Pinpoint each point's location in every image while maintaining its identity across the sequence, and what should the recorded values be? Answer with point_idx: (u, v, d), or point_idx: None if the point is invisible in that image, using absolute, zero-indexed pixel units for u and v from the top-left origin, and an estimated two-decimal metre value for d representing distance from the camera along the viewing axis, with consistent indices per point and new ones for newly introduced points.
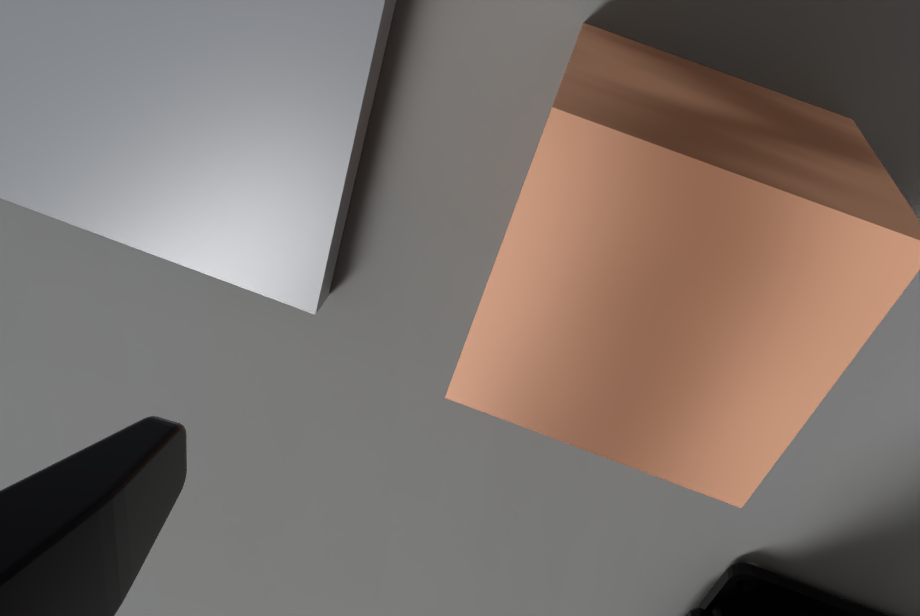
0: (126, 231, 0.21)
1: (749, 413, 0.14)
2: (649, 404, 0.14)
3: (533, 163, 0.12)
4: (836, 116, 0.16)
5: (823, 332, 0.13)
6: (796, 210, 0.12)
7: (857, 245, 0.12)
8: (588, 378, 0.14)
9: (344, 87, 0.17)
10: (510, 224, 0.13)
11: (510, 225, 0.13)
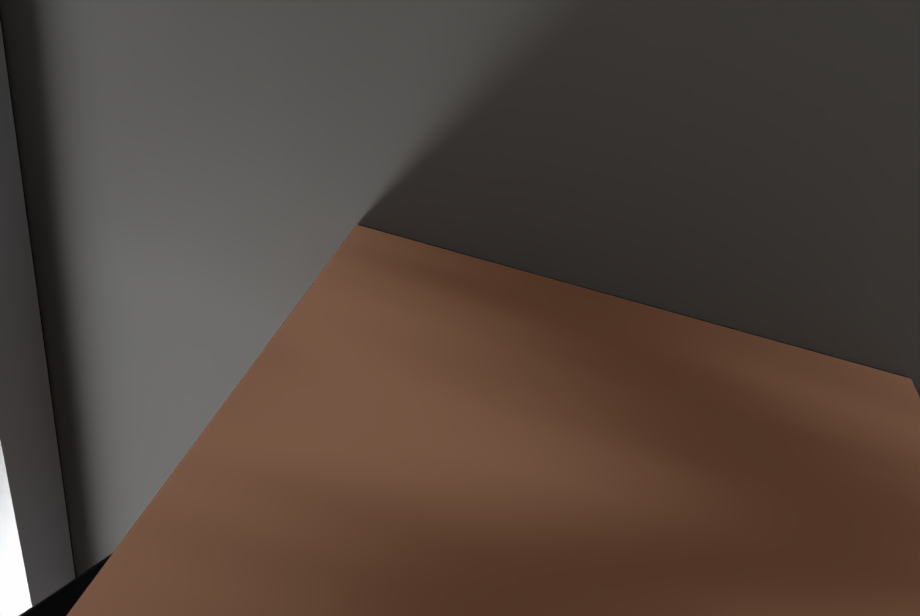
0: None
1: None
2: None
3: None
4: (879, 386, 0.08)
5: None
6: None
7: None
8: None
9: None
10: None
11: None
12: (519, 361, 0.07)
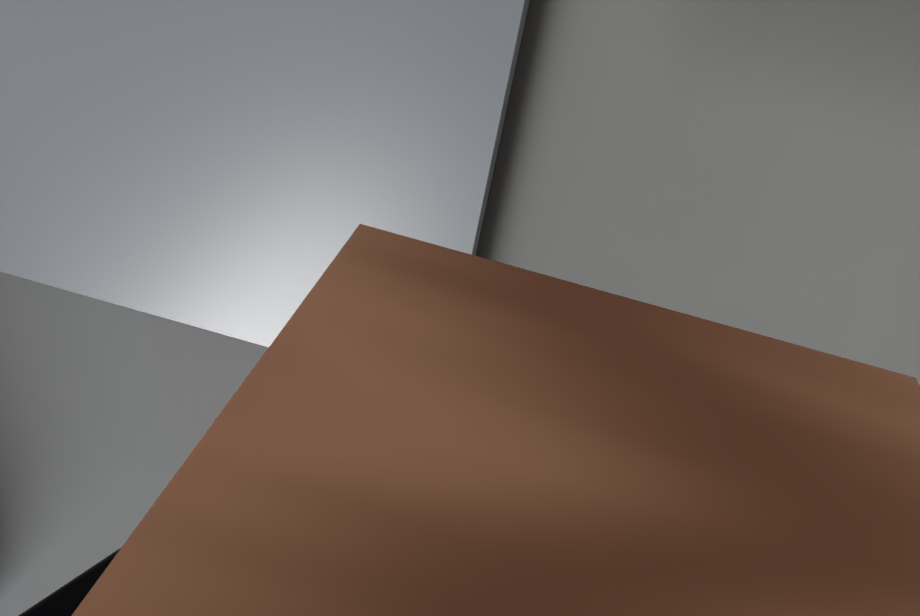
0: (258, 332, 0.22)
1: None
2: None
3: None
4: (883, 386, 0.08)
5: None
6: None
7: None
8: None
9: (465, 186, 0.18)
10: None
11: None
12: (523, 360, 0.07)
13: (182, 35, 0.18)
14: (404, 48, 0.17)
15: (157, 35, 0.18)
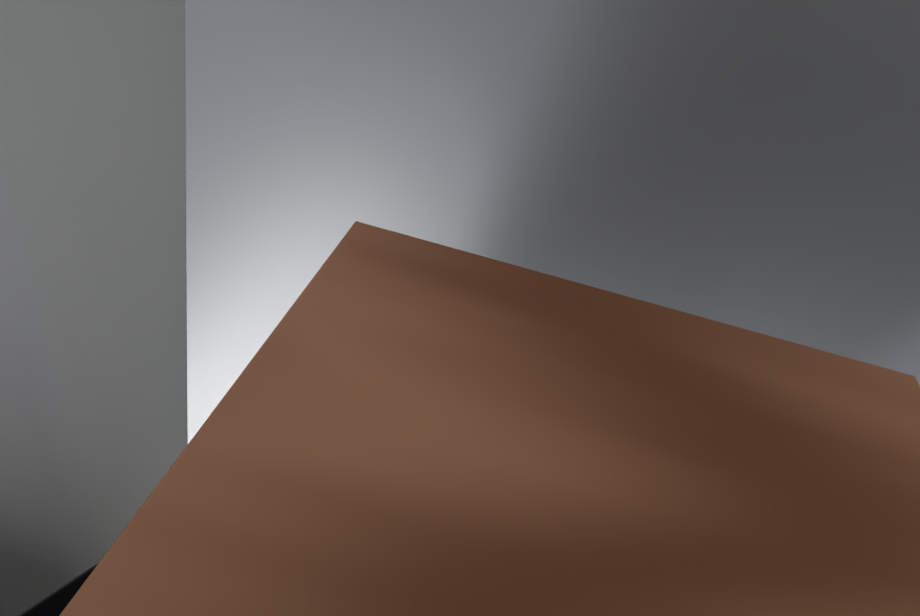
0: None
1: None
2: None
3: None
4: (882, 384, 0.08)
5: None
6: None
7: None
8: None
9: None
10: None
11: None
12: (520, 358, 0.07)
13: (562, 259, 0.13)
14: (910, 300, 0.12)
15: (523, 256, 0.13)
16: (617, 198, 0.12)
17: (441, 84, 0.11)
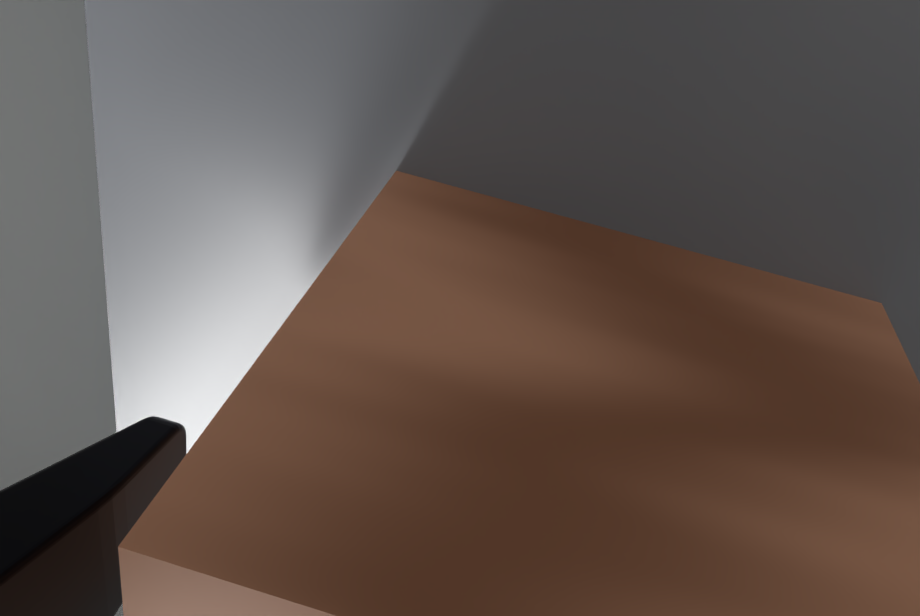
0: None
1: None
2: None
3: None
4: (853, 308, 0.09)
5: None
6: None
7: None
8: None
9: None
10: None
11: None
12: (543, 278, 0.08)
13: None
14: None
15: None
16: None
17: (398, 146, 0.09)
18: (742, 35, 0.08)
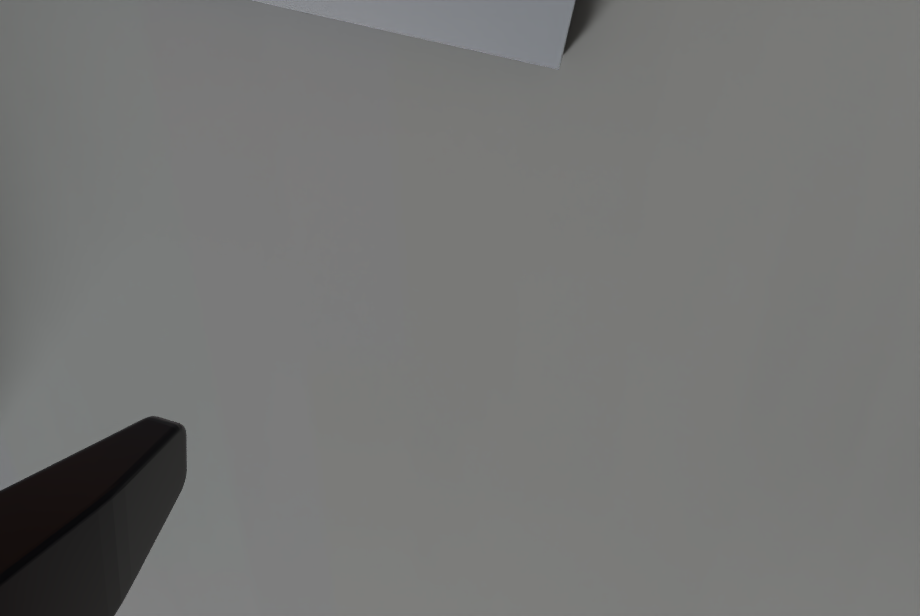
0: None
1: None
2: None
3: None
4: None
5: None
6: None
7: None
8: None
9: None
10: None
11: None
12: None
13: None
14: None
15: None
16: None
17: None
18: None
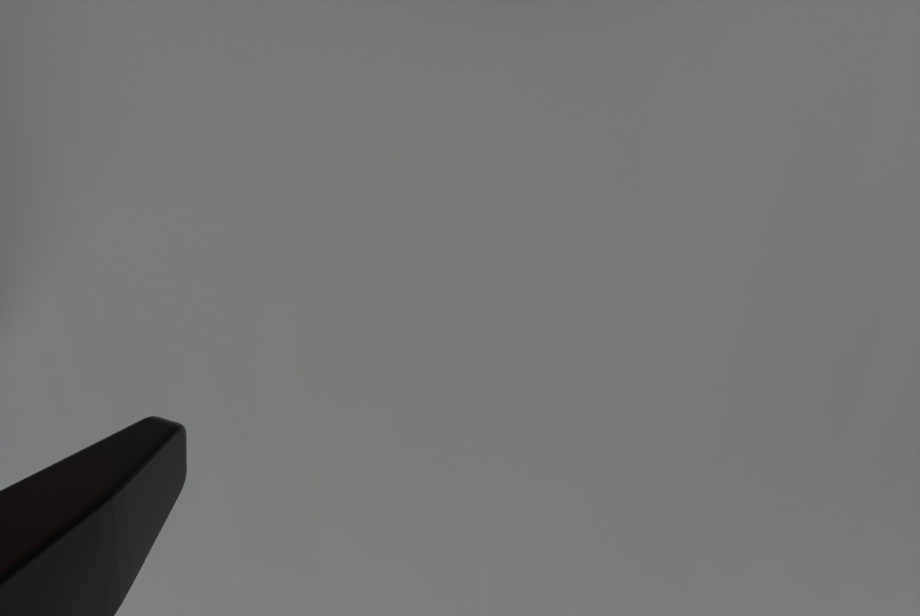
0: None
1: None
2: None
3: None
4: None
5: None
6: None
7: None
8: None
9: None
10: None
11: None
12: None
13: None
14: None
15: None
16: None
17: None
18: None
